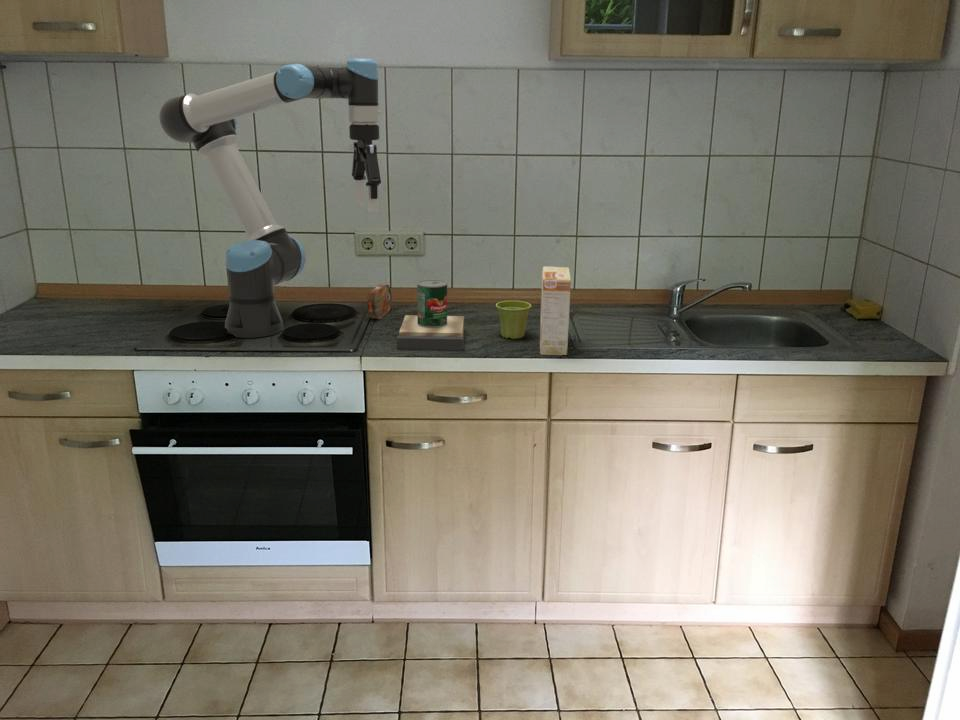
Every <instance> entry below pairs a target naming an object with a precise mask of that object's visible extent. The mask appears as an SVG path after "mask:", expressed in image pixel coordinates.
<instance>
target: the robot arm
mask: <svg viewBox="0 0 960 720" xmlns="http://www.w3.org/2000/svg"><path fill="white" fill-rule="evenodd" d="M304 99H317V100H318V99H320V100H322V99H344V100H345V99H346V100H348V106H347V107H348V110H347V111H348V122H349V123H351V124H350V125H349V139H350V140H353V154H352V155H353V156H352V167H351V177H353V181H354V183H353V184H354V185H353V186H354V205H355V206H366V203H367V212H368V213H374V212H375V213H378V212H380V204H379V203H380V202H379V201H380V200H379V199H380V198H379V197H380V196H379V195H380V194H379V185H380V184H381V183H382V179H381V175H380V167H379V159H378V154H377V153H378V152H377V150H378V149H377V147H378V146H377V144H373V141H378V140H379V139H380V126H379V124H377V123H380V122H379V117H380V114H381V112H382V111H381V110H380V109H379V73H378V63H377V61H376V60H375V59H373V58H361V57H359V58H357V57H356V58H348V59H347V61H346V66H343V67H341V66H340V67H339V66H337V67H336V66H319V65H308V64H307V65H306V64H300V63H292V64H285V65H284V66H282V67H280V69H279V70H277V71H274V72H270V73H268V74H267V73H266V74H264V75H260V76H257V77H255V78H254V77H253V78H250V79H248V80H245V81H242V82H238V83H235V84H232V85H228V86H225V87H221V88H218V89H216V90H212V91H209V92H205V93H202V94H198V95H197V94H195V93H191V92H190V93H187V94H184V95H179V96H175V97H171V98H168V99H167V100H166V101H165V102H164V103H163V104H162V106H161V108H160V111H159V115H158V116H159V124H160V127H161V129H162V130H163V131H164V133H165V134H166V135H167V136H168V137H169V138H170V139H173V141H176V142H180V143H185V144H187V143H189V144H190V143H192V144H193V146H194V148H195V150H196V152H197V154H198V155H199V156H202V157H205V158H206V159H207V160H208V163H209V164H210V166H211V169H212V171H213V172H214V174H215V176H216V178H217V180H218V182H219V184H220V186H221V188H222V189H223V191H224V192H223V193H225V195H226V198H227V199H228V202H229V203H230V205H231V206H232V209H233V210H234V213H235V215H236V217H237V218H238V220H239V222H240V224H241V226H242V228H243V230H244V232H245V234H246V236H247V240H246V241H239V242H236V243H234V244H232V245H230V246H229V247H228V248H226V251H225V268H226V277H227V288H228V297H229V298H228V299H229V306H228V310H227V314H226V318H225V322H224V329H225V328H226V329H227V330H228V331H229V332H231V333H232V334H233V335H234V336H235V337H234V338H245V339H253V338H263V337H270V336H274V335H277V334H279V333H282V332H283V330H284V321H283V318H282V315H281V313H280V311H279V308H278V306H277V303H276V298H275V286H276V285H279V284H282V283H284V282H288V281H290V280H292V279H294V278H295V277H297V276H299V275H300V274H301V273H302V271H303V270H304V268H305V265H306V260H307V259H306V256H307V255H306V252H305V249H304V246H303V245H302V244H301V243H302V242H300V241H299V240H298V239H295V238H294V237H292V236H290V235H289V234H288V231H287V230H286V228H285V226H282V225H280V224H277V222H276V220H275V218H274V216H273V214H272V213H271V212H272V211H270V209H269V206H268V205H267V203H266V201H265V199H264V197H263V195H262V193H261V191H260V189H259V186H258V185H257V184H256V181H255V179H254V177H253V175H252V174H251V172H250V170H249V167H248V166H247V164H246V162H245V160H244V158H243V156H242V154H241V152H240V150H239V148H238V146H237V142H238V139H239V137H238V136H239V135H238V134H237V133H236V131H237V124H238V122H237V121H238V120H237V118H242V117H244V116H247V115H251V114H255V113H257V112H261V111H265V110H267V109H271V108H275V107H278V106H281V105H284V104H289V103H292V102H296V101H297V102H298V101H299V100H300V101H301V100H304ZM365 174H366V175H365ZM366 180H367V181H366ZM366 187H367V191H366ZM366 193H367V195H366ZM366 196H367V202H366Z"/></svg>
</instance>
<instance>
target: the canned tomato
mask: <svg viewBox="0 0 960 720" xmlns="http://www.w3.org/2000/svg"><path fill="white" fill-rule="evenodd" d="M416 286H417V288H416V290H417V291H416V292H417V299H416V300H417V301H416V302H417V308H416V309H417V311H416V312H417V314H416V315H418V316H417V317H418V322H417V324H418V325H419V326H421V327H426V328H438V327H443V326H446V325H447V316H448V282H447V281H446V280H441V279H423V280H420V281H417V282H416Z"/></svg>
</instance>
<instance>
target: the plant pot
mask: <svg viewBox="0 0 960 720" xmlns="http://www.w3.org/2000/svg"><path fill="white" fill-rule="evenodd" d="M495 307H496V308H497V312H498V317H499V326H500V335H501V336H502V338H504V337H505V338H504V339H508V338H510V339H512V340H515V339H517V340H518V339H522V338H523V337H525V334H526V327H527V326H526V325H527V321H528V315H529V312H530V309H531V308H532V304H531V303H529V302H527V301H521V300H504V301H499V302H497V303H496V304H495Z"/></svg>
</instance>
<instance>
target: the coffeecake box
mask: <svg viewBox="0 0 960 720" xmlns="http://www.w3.org/2000/svg"><path fill="white" fill-rule="evenodd" d="M570 272H571V271H570V267H569V266H568V267H565V266H552V265H551V266H542V276H541V292H540V293H541V294H540V297H541V298H540V319H539V320H540V322H539V324H540V325H539V354H540V356H541V355H542V356H562V355H568V343H569V327H570V326H569V324H570V323H569V322H570V308H571V307H570V302H571V300H570V299H571V282H572V280H571V273H570Z"/></svg>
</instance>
